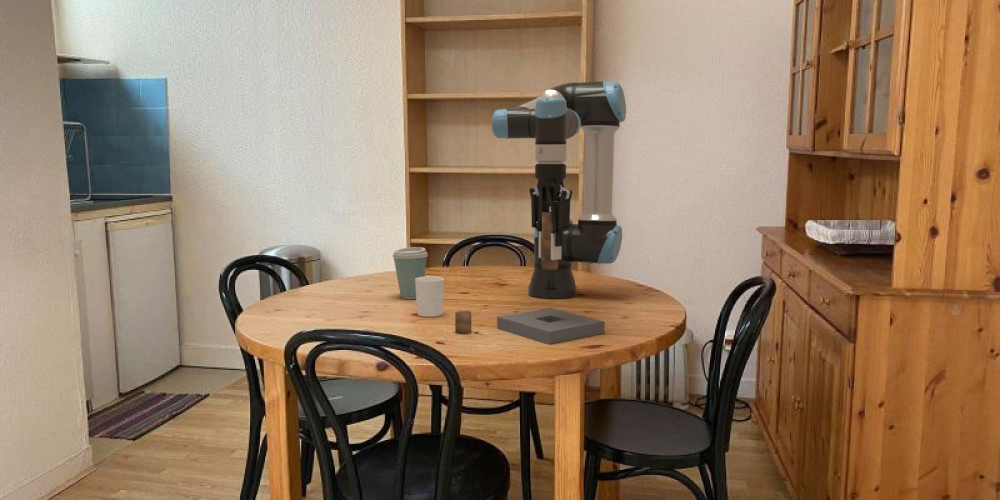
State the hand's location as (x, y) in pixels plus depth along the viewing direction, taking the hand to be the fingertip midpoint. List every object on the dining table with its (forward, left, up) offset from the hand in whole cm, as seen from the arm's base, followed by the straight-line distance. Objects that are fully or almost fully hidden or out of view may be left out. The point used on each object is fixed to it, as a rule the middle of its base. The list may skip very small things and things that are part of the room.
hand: (549, 258), depth 189 cm
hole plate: (0, 0, -18) cm, 18 cm away
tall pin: (0, 0, -3) cm, 3 cm away
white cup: (-34, -14, -19) cm, 41 cm away
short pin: (-12, -18, -18) cm, 28 cm away
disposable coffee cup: (-58, -6, -19) cm, 61 cm away
